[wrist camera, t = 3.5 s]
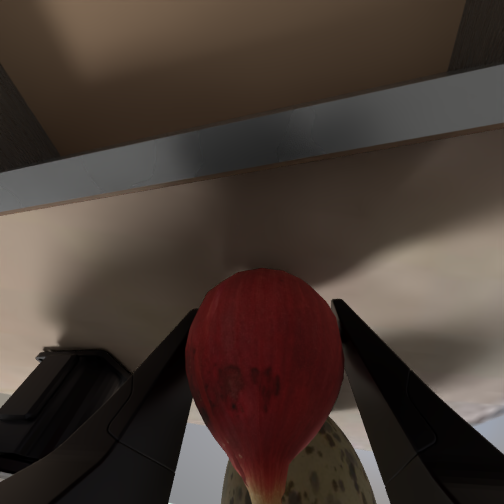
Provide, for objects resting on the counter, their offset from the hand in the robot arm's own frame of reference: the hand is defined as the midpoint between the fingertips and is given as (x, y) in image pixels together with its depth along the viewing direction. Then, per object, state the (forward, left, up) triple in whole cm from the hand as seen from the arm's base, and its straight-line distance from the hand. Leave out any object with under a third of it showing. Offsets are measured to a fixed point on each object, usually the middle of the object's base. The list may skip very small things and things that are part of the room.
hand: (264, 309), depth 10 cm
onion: (0, 0, -2) cm, 2 cm away
